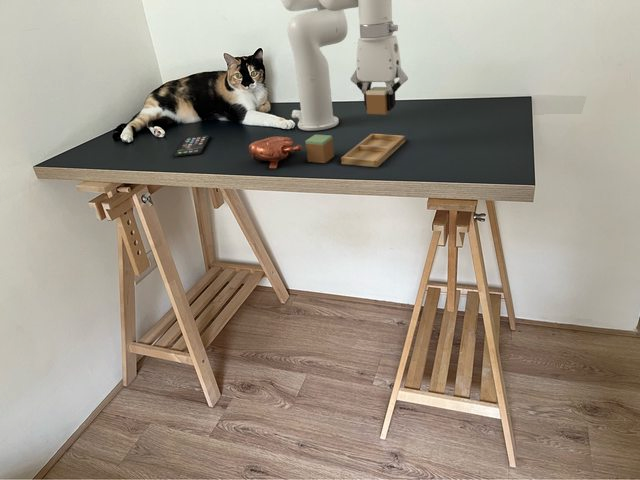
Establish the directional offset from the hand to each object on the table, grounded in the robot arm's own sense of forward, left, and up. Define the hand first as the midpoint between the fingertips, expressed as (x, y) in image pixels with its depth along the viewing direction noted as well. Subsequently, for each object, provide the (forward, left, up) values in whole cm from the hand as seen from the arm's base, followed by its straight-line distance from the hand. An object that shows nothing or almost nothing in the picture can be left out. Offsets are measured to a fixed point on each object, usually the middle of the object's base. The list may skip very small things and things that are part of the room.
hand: (380, 108), depth 123 cm
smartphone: (-55, -12, -10) cm, 57 cm away
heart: (-23, -15, -10) cm, 29 cm away
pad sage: (-12, -12, -10) cm, 19 cm away
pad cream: (0, 0, -1) cm, 1 cm away
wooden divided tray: (0, -4, -10) cm, 11 cm away
